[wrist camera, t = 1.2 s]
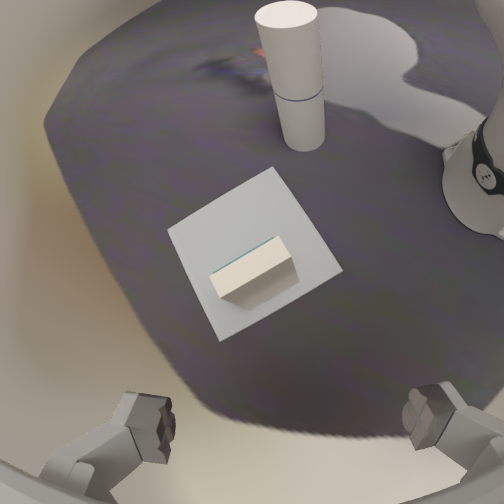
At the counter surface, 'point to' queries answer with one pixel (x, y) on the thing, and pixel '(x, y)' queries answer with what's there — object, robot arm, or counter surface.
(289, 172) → the counter surface
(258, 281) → the tile
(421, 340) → the counter surface
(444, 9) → the counter surface
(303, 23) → the cylindrical container
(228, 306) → the mat
